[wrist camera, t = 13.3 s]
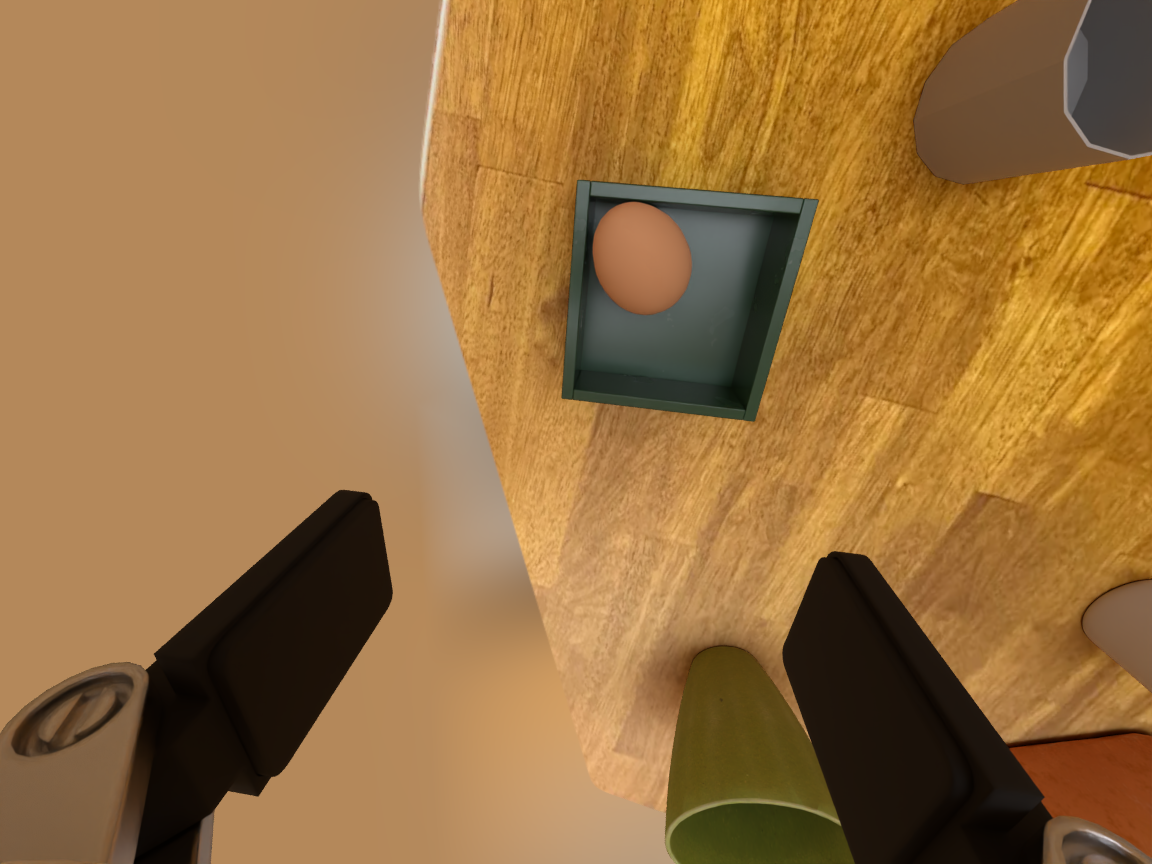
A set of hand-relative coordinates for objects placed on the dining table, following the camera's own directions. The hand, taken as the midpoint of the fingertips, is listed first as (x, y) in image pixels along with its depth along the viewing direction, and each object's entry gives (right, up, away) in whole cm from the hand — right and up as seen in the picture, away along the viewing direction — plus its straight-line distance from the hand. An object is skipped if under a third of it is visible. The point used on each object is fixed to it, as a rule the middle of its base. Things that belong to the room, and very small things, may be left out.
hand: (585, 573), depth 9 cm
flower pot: (+16, -24, +39) cm, 48 cm away
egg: (+6, +13, +21) cm, 25 cm away
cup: (+25, +23, +16) cm, 37 cm away
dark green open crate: (+7, +13, +23) cm, 27 cm away
